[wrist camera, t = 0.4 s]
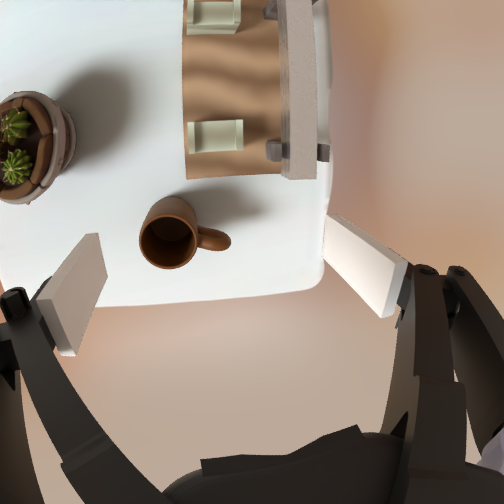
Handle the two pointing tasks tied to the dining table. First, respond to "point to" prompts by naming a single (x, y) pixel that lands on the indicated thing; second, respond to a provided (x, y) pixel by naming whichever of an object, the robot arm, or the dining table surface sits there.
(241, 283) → the dining table surface
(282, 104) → the rail
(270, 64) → the rack
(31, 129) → the flowerpot
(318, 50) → the dining table surface
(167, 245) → the mug
